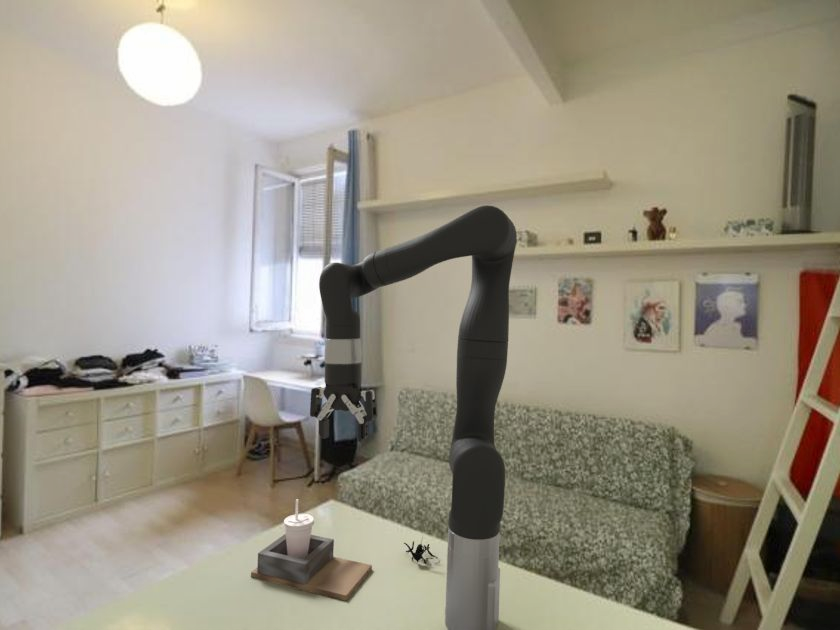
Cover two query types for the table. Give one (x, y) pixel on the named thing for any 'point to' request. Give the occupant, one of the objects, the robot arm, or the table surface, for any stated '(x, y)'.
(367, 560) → the table surface
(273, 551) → the board
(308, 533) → the smoothie
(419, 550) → the creature
